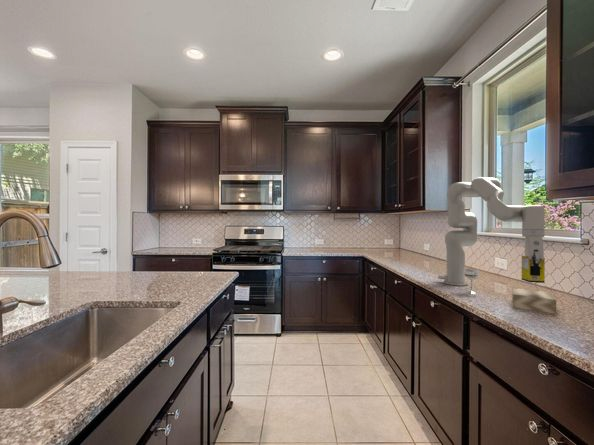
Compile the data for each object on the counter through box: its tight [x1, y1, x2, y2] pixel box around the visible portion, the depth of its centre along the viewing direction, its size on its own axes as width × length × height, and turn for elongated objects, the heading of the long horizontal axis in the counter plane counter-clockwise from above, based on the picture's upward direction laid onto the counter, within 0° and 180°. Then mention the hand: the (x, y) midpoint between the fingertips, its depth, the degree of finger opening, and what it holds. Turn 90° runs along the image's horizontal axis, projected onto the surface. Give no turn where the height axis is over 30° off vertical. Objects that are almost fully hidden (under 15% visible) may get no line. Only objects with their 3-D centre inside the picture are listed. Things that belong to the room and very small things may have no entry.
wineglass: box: [464, 268, 480, 295], centre depth 149 cm, size 7×7×12 cm
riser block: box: [511, 287, 557, 315], centre depth 125 cm, size 14×14×6 cm
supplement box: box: [521, 255, 546, 284], centre depth 125 cm, size 6×6×11 cm
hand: (532, 273), depth 125 cm, fingers closed on supplement box, 7 cm apart
